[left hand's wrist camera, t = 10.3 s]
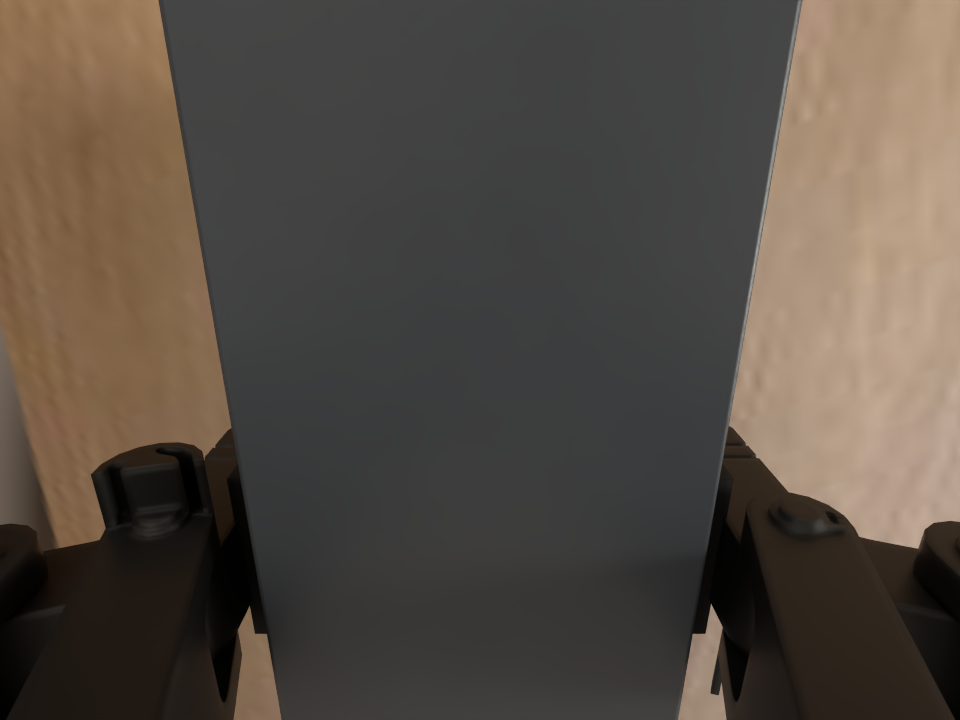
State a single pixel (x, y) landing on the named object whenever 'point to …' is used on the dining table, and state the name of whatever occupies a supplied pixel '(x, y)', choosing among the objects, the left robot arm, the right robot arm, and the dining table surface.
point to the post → (480, 331)
